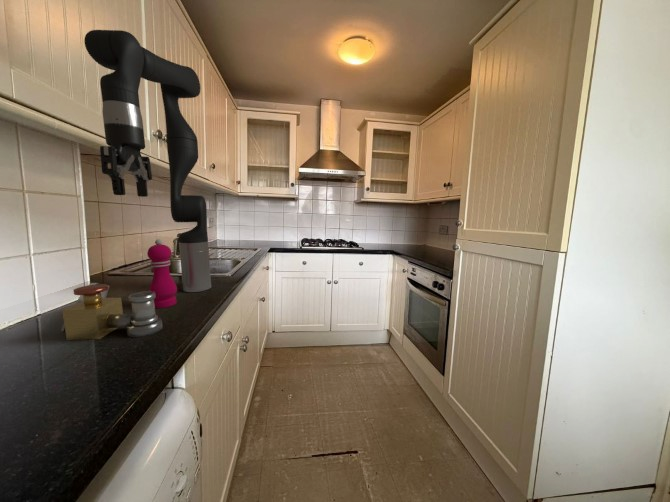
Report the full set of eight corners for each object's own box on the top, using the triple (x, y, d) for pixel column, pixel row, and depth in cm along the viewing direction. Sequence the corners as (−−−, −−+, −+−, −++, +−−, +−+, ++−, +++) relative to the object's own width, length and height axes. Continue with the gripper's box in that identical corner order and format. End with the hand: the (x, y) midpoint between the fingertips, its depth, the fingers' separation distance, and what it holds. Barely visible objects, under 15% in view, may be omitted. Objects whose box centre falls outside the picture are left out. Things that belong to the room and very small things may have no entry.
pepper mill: (173, 298, 89) (167, 237, 85) (182, 304, 84) (176, 239, 81) (147, 304, 83) (140, 239, 80) (155, 310, 79) (147, 241, 75)
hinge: (81, 309, 80) (92, 276, 80) (102, 311, 82) (112, 279, 82) (60, 331, 65) (73, 291, 65) (85, 334, 68) (98, 295, 68)
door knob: (162, 317, 69) (159, 290, 67) (150, 326, 63) (146, 297, 62) (140, 318, 68) (137, 291, 67) (126, 327, 63) (122, 298, 62)
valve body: (95, 324, 69) (89, 283, 67) (169, 322, 70) (165, 282, 69) (66, 339, 61) (59, 293, 60) (150, 337, 62) (145, 292, 61)
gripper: (119, 117, 58) (128, 194, 61) (157, 134, 72) (163, 197, 75) (82, 116, 58) (92, 194, 60) (128, 133, 72) (135, 196, 74)
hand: (132, 195), depth 68 cm, fingers open, 8 cm apart
